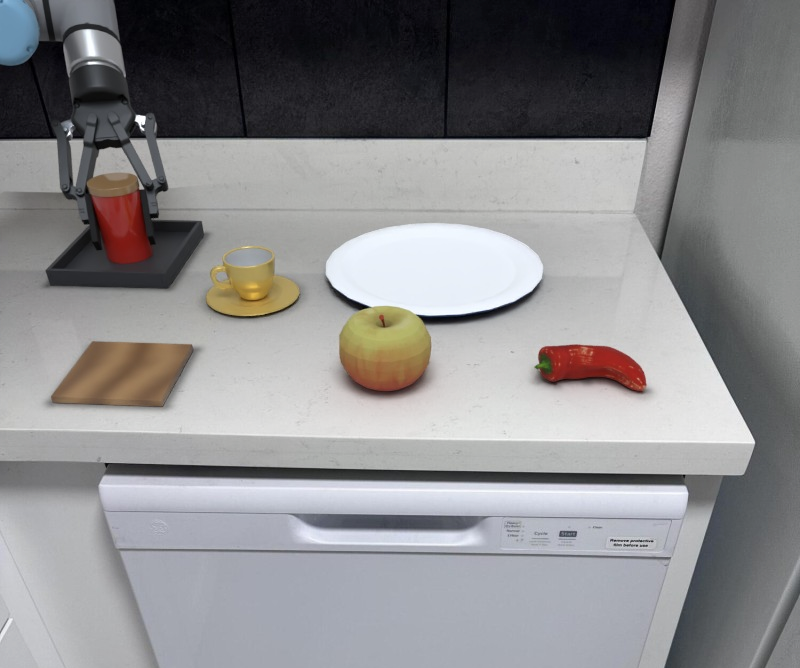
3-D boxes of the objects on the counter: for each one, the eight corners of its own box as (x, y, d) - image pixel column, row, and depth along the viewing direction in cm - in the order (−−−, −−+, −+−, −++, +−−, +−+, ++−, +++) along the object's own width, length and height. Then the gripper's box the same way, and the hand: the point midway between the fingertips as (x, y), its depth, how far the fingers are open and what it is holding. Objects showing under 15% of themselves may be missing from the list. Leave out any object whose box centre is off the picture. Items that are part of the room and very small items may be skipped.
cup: (287, 271, 108) (282, 232, 104) (310, 309, 99) (306, 267, 96) (199, 285, 105) (191, 245, 101) (215, 325, 96) (207, 283, 93)
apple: (349, 409, 82) (345, 340, 77) (333, 363, 89) (328, 296, 84) (440, 396, 84) (442, 327, 79) (417, 352, 91) (417, 286, 86)
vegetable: (539, 367, 81) (652, 380, 82) (539, 327, 84) (649, 340, 84) (528, 393, 85) (636, 406, 86) (528, 354, 88) (633, 367, 88)
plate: (342, 337, 94) (341, 324, 93) (313, 242, 115) (312, 230, 114) (574, 313, 98) (576, 300, 97) (505, 225, 119) (506, 214, 118)
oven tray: (49, 285, 105) (44, 270, 104) (99, 232, 119) (95, 218, 117) (168, 288, 104) (164, 273, 103) (204, 234, 118) (201, 220, 116)
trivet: (52, 402, 84) (50, 396, 83) (94, 347, 93) (92, 340, 92) (162, 406, 83) (160, 400, 83) (193, 350, 92) (192, 344, 91)
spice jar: (99, 263, 109) (78, 188, 102) (115, 244, 114) (97, 171, 107) (145, 264, 108) (128, 189, 102) (160, 245, 113) (144, 172, 106)
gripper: (173, 90, 112) (199, 247, 112) (31, 100, 109) (57, 262, 108) (166, 56, 105) (194, 223, 104) (13, 65, 102) (41, 238, 101)
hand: (124, 242), depth 106 cm, fingers closed on spice jar, 6 cm apart
